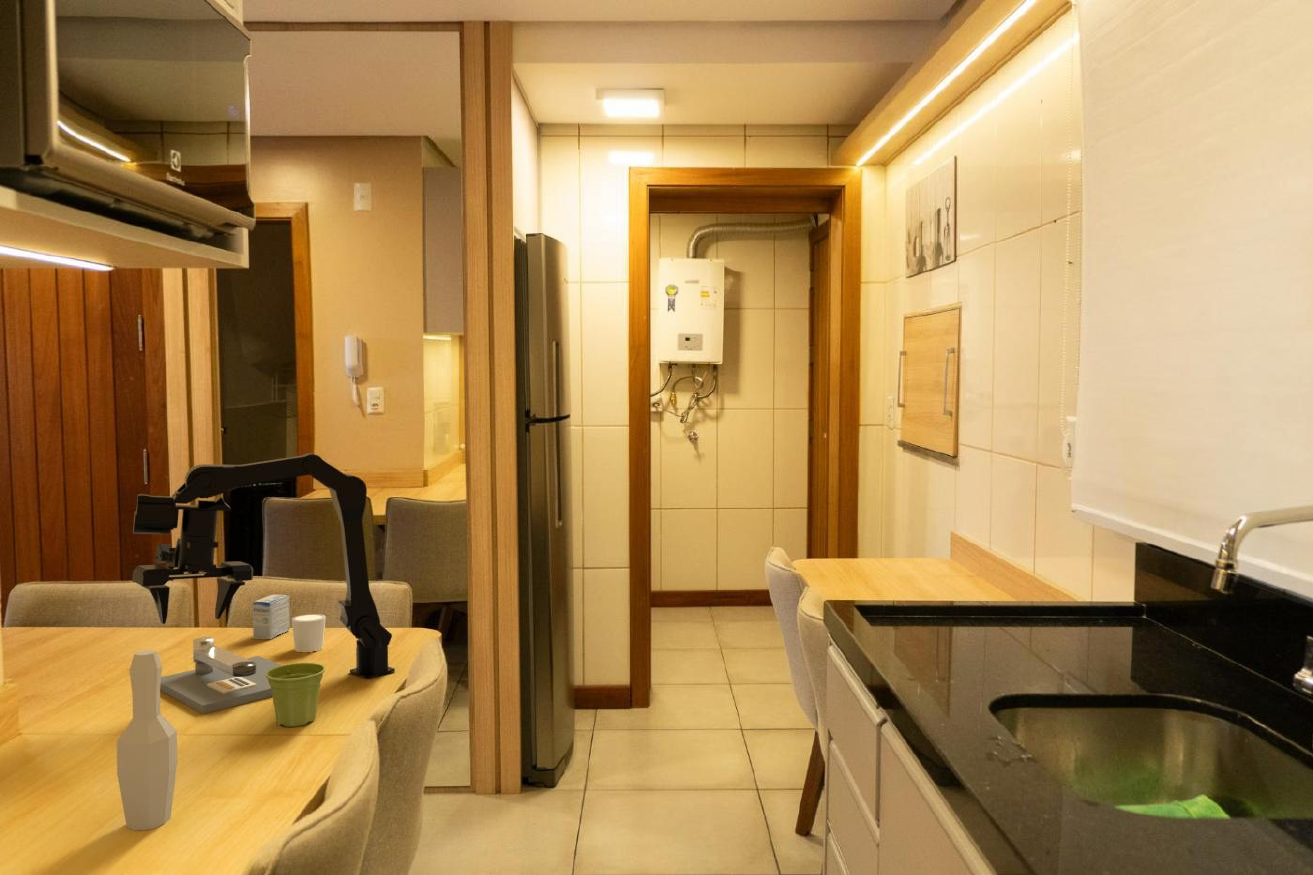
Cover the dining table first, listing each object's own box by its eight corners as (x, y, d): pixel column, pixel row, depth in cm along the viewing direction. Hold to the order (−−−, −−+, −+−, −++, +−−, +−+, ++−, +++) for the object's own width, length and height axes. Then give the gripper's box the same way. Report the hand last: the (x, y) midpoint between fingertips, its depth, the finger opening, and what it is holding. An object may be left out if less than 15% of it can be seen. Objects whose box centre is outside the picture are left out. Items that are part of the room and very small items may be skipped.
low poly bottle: (107, 831, 110) (103, 658, 109) (146, 808, 117) (143, 644, 116) (151, 836, 109) (147, 661, 108) (188, 813, 115) (185, 647, 114)
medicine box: (272, 630, 207) (272, 594, 206) (290, 631, 206) (289, 594, 206) (252, 639, 199) (252, 601, 198) (271, 640, 198) (270, 602, 198)
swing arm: (189, 660, 169) (188, 639, 169) (210, 655, 172) (210, 635, 172) (237, 683, 156) (237, 661, 156) (260, 678, 159) (260, 656, 159)
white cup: (318, 653, 188) (318, 621, 188) (286, 653, 188) (286, 621, 188) (330, 644, 195) (330, 613, 194) (300, 644, 195) (299, 613, 195)
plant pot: (266, 715, 151) (266, 665, 151) (325, 708, 155) (324, 659, 154) (264, 734, 143) (263, 681, 142) (326, 726, 146) (326, 675, 146)
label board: (312, 685, 167) (312, 667, 167) (203, 714, 152) (202, 694, 151) (258, 663, 181) (258, 646, 181) (153, 686, 166) (153, 668, 166)
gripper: (232, 528, 171) (225, 608, 171) (125, 529, 157) (117, 617, 157) (257, 535, 163) (250, 619, 163) (148, 538, 149) (139, 629, 149)
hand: (190, 621), depth 158 cm, fingers open, 9 cm apart
